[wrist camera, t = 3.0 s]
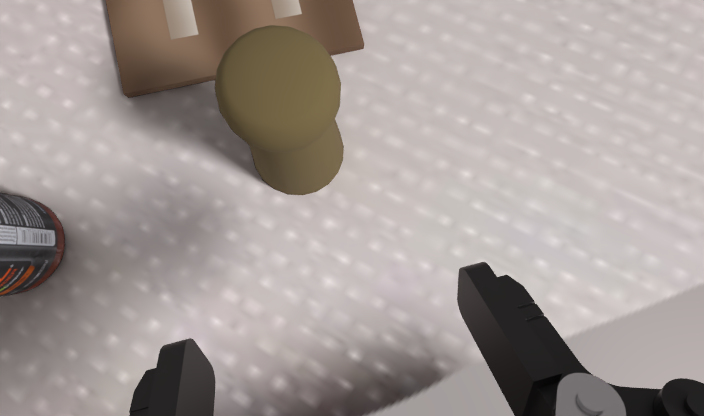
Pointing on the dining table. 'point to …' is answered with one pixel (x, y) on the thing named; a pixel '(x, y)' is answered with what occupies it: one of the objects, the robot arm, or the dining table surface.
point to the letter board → (212, 35)
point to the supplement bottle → (27, 244)
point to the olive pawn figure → (283, 106)
